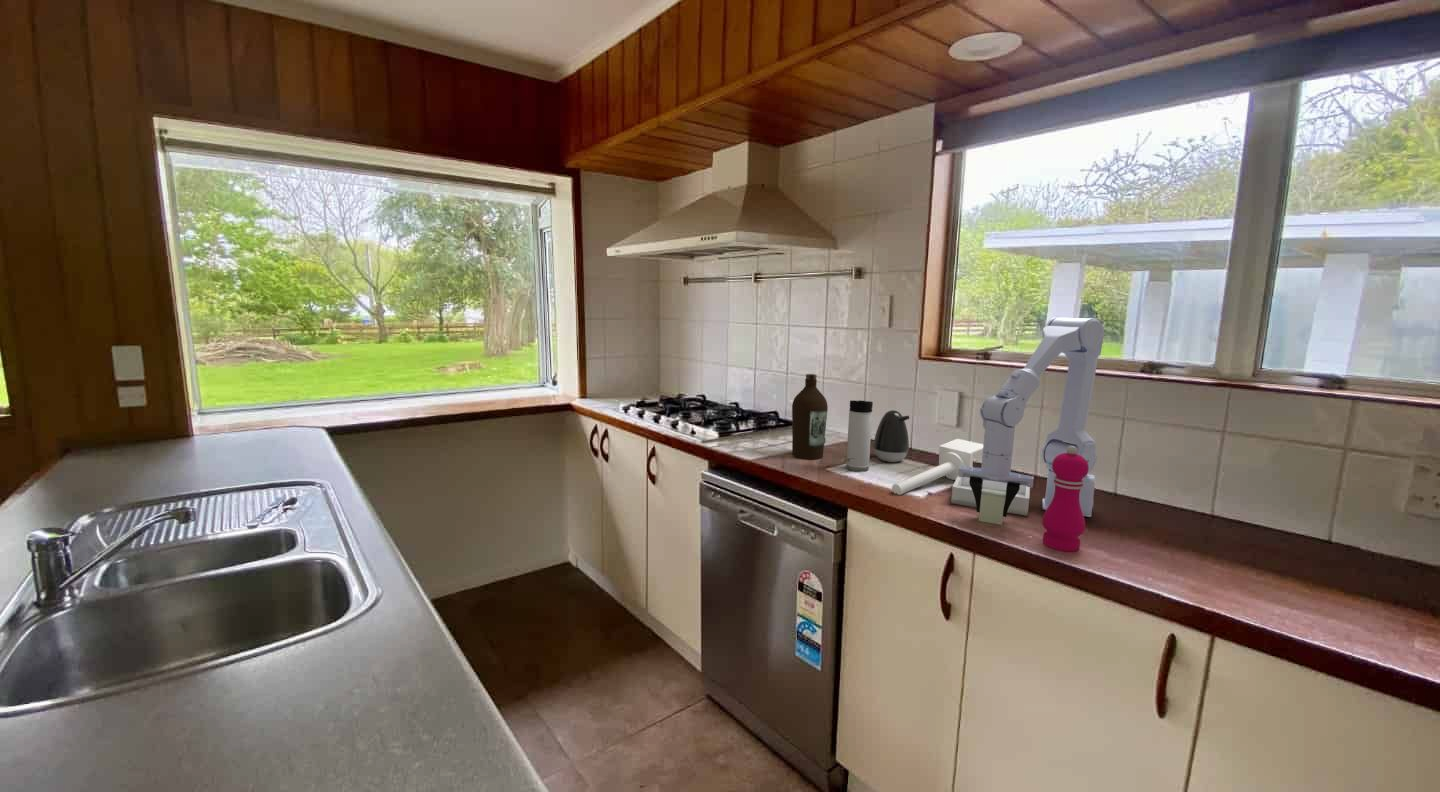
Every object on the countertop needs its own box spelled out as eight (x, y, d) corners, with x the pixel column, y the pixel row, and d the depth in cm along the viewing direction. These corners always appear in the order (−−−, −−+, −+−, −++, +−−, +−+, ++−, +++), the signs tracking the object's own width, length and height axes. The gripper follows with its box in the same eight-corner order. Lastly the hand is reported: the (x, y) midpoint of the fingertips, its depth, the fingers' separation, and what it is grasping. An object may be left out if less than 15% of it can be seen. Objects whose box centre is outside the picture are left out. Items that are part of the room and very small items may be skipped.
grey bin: (1028, 498, 142) (1030, 482, 141) (1027, 515, 130) (1029, 498, 129) (958, 487, 149) (959, 472, 149) (951, 503, 137) (952, 486, 136)
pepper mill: (1031, 540, 116) (1042, 442, 113) (1057, 536, 118) (1069, 440, 115) (1064, 555, 109) (1076, 451, 106) (1091, 550, 112) (1104, 448, 108)
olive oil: (782, 454, 179) (786, 373, 175) (807, 449, 185) (811, 371, 181) (807, 462, 170) (811, 377, 166) (832, 457, 177) (836, 375, 173)
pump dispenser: (895, 466, 168) (899, 414, 165) (865, 458, 175) (868, 409, 173) (915, 461, 174) (919, 411, 172) (885, 454, 182) (889, 406, 179)
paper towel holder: (988, 445, 155) (912, 477, 138) (988, 476, 157) (912, 511, 140) (957, 438, 163) (881, 468, 146) (957, 468, 165) (881, 500, 148)
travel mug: (845, 471, 162) (849, 400, 159) (846, 464, 168) (850, 396, 165) (868, 472, 161) (873, 401, 157) (868, 466, 167) (872, 398, 164)
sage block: (1002, 518, 128) (1005, 492, 127) (1001, 524, 124) (1004, 497, 123) (980, 514, 130) (983, 488, 129) (978, 520, 126) (981, 494, 125)
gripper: (958, 451, 124) (953, 512, 126) (1035, 461, 117) (1028, 525, 120) (962, 445, 130) (957, 503, 133) (1035, 454, 124) (1029, 515, 126)
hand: (991, 513), depth 126 cm, fingers closed on sage block, 4 cm apart
